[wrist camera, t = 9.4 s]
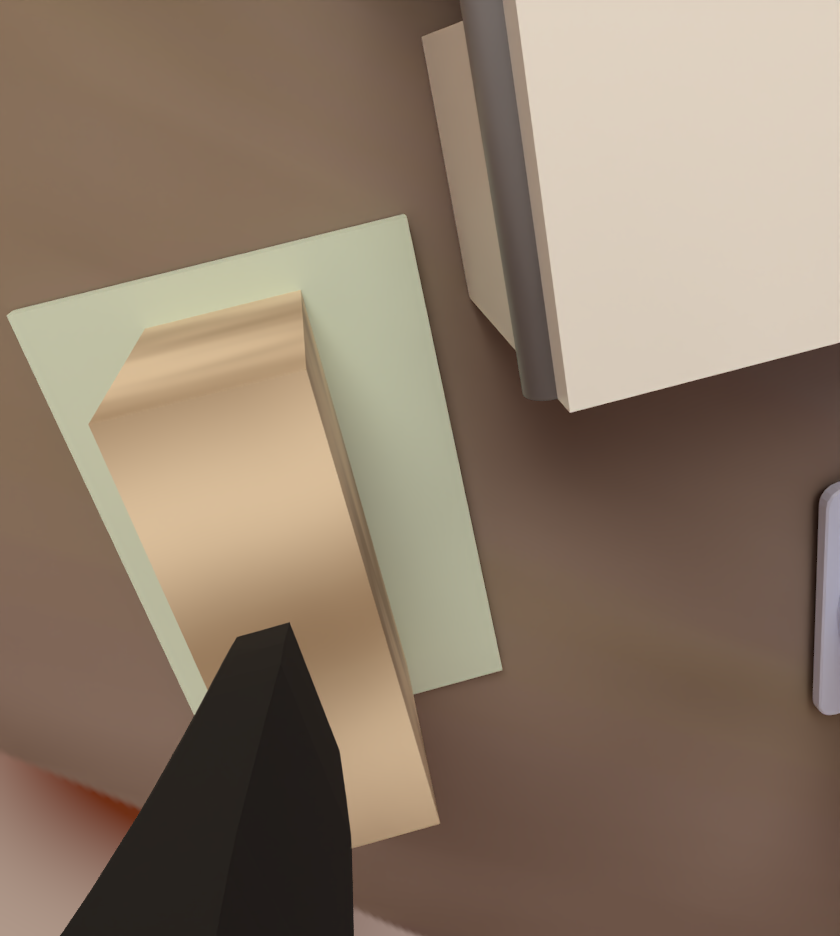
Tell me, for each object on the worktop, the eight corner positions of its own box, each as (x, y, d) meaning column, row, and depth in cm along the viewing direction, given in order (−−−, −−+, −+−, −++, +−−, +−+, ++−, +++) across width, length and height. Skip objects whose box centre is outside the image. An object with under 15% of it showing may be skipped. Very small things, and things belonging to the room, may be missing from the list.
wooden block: (406, 662, 20) (440, 823, 16) (286, 695, 20) (286, 866, 16) (300, 289, 16) (306, 369, 11) (145, 329, 16) (88, 424, 11)
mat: (403, 213, 16) (406, 216, 15) (498, 660, 21) (502, 670, 21) (13, 310, 15) (6, 315, 15) (212, 738, 21) (210, 750, 21)
